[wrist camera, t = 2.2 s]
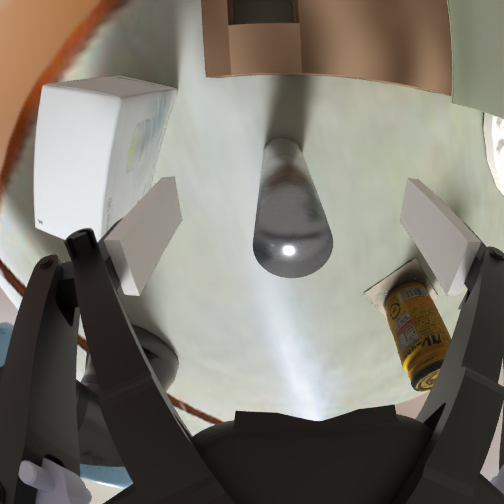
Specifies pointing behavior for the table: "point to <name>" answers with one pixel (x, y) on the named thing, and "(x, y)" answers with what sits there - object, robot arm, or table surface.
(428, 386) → the condiment
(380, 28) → the socket block
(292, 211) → the peg
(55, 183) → the skincare box
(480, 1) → the pale green angled bracket
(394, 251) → the table surface
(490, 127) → the white round plaque
